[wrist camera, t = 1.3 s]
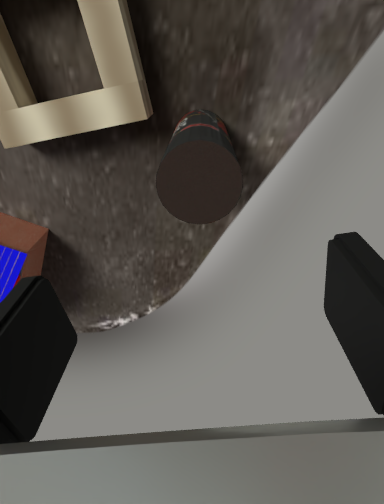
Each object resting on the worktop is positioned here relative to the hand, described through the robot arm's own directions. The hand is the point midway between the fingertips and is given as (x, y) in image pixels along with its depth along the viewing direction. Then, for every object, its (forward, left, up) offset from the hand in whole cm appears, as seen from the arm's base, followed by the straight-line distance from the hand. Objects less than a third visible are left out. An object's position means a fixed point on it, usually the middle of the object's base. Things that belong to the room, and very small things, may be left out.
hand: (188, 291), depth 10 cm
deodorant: (0, 0, -27) cm, 27 cm away
